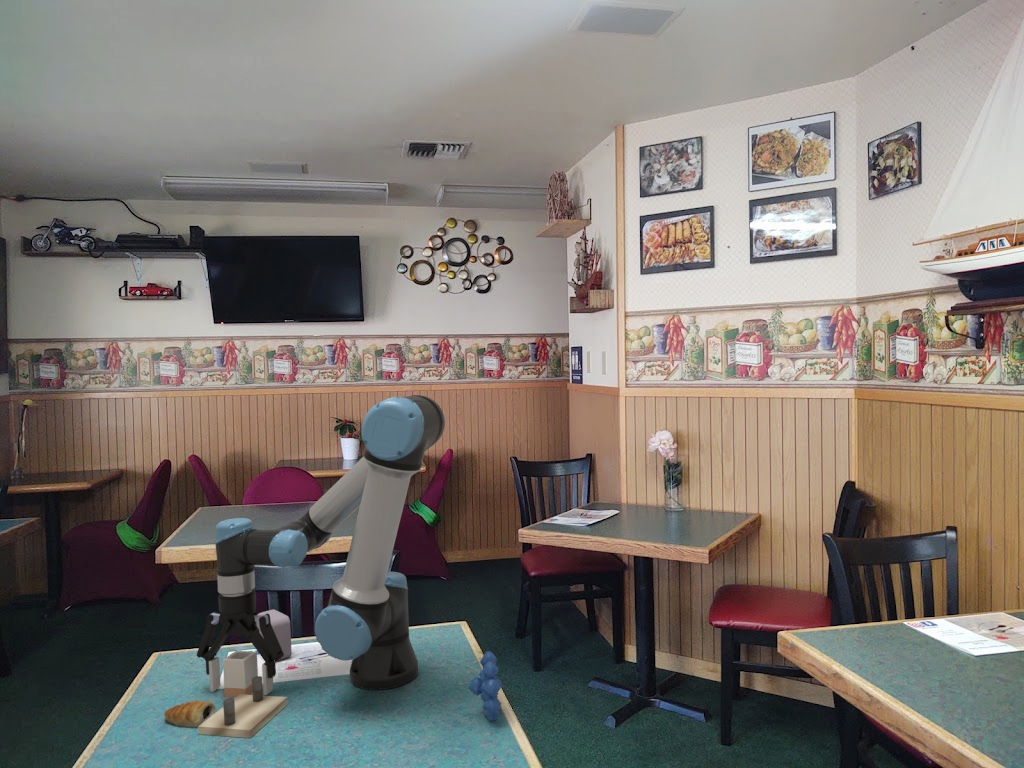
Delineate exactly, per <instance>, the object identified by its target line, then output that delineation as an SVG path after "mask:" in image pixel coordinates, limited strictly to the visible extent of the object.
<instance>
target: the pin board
mask: <svg viewBox="0 0 1024 768" xmlns="http://www.w3.org/2000/svg"><path fill="white" fill-rule="evenodd" d="M222 704H223V705H222V707H221V708H220V709H219V710H217V711H215V714H213V715H212V716H211V717H210V718H208V719H207V720H206V721H204V722H203V723H202V724H201V725H199V726H198V727H197V730H198V735H203V736H204V735H207V736H218V737H219V736H220V737H229V738H230V737H233V738H245V739H247V738H248V739H251V738H253V736H254V735H256V734H257V733H258V732H259V730H261V729H262V728H263V727H265V725H266V724H267V723H269V721H271V720H272V719H273V718H274V717H276V716H277V715H278V714H279V712H281V711H282V710H283V709H284V708H285V707H286V706H287V705H288V697H287V696H277V695H276V696H275V695H264V694H263V676H261V675H258V676H257V677H254V678H252V694H250V695H246V694H239V695H238V696H236V697H226V698H225V699H223V702H222Z"/></svg>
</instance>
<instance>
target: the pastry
mask: <svg viewBox="0 0 1024 768" xmlns="http://www.w3.org/2000/svg"><path fill="white" fill-rule="evenodd" d="M215 713H216V705H215V704H214V702H212V700H208V701H203V700H198V699H196V700H191V701H187V702H183V703H181V704H177V705H175V706H173V707H170V708H168V709H167V710H165V712H164V719H165V720H166V722H167V723H170V724H173V725H174V726H176V727H186V728H198V726H199V725H201V724H202V723H203V722H204V721H206V720H207V719H208V718H210V717H211V716H212V715H213V714H215Z"/></svg>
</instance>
